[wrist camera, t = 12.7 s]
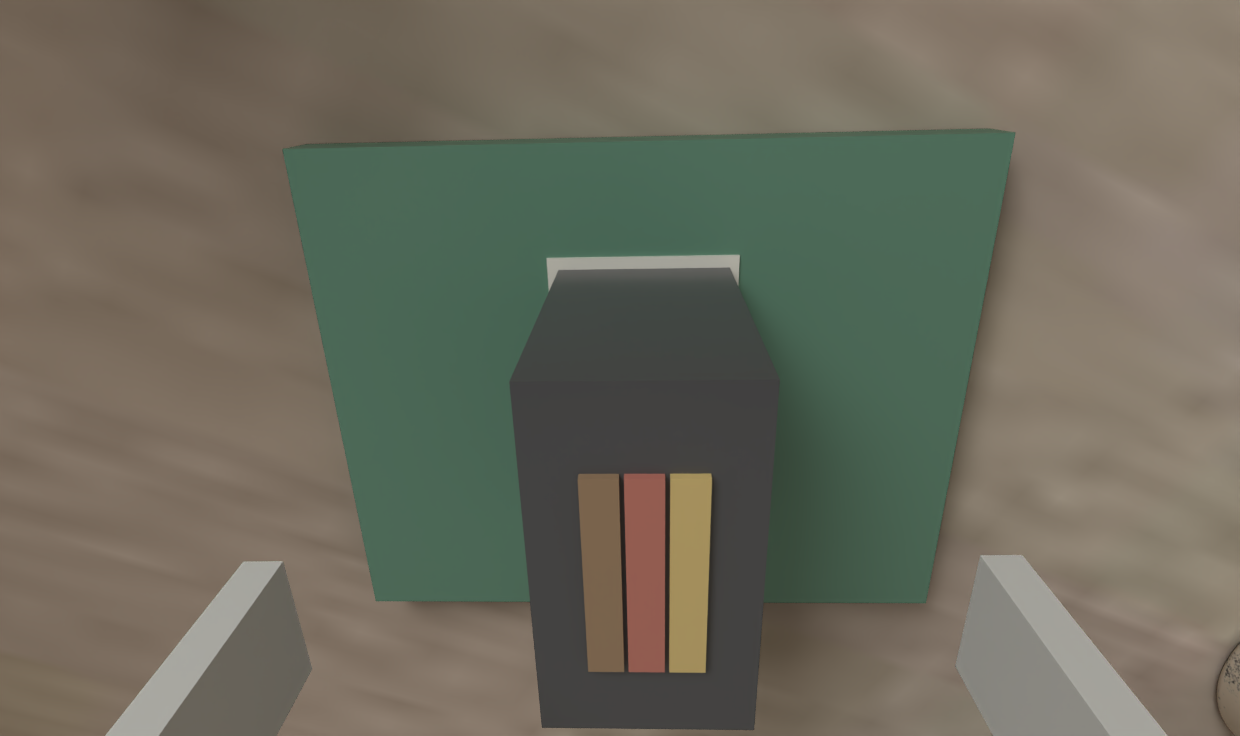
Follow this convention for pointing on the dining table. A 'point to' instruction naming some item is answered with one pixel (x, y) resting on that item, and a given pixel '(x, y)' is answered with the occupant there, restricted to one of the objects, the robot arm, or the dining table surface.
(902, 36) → the dining table surface
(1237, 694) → the teacup with lid
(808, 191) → the header board
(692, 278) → the plug housing
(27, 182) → the dining table surface
